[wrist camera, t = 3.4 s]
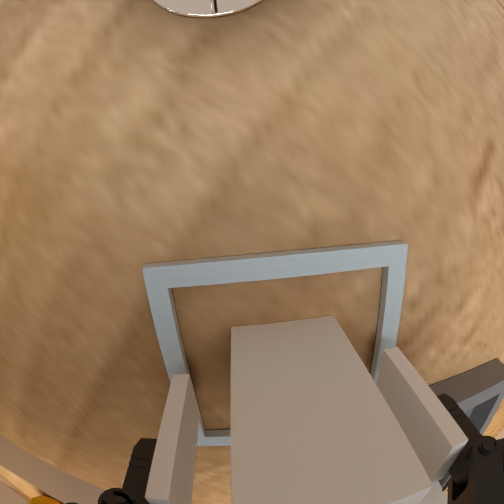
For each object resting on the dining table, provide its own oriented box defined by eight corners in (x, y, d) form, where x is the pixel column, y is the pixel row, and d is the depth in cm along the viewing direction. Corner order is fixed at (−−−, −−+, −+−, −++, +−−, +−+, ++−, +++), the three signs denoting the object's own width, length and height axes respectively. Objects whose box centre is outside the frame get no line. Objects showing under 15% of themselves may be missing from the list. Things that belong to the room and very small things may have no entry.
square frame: (192, 439, 16) (192, 446, 16) (145, 263, 13) (141, 268, 12) (374, 416, 17) (377, 421, 16) (401, 240, 13) (407, 243, 13)
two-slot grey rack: (343, 516, 22) (347, 532, 20) (385, 399, 16) (399, 424, 14) (426, 487, 22) (433, 501, 20) (496, 358, 17) (514, 374, 14)
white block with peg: (241, 400, 15) (254, 614, 4) (231, 326, 14) (235, 612, 2) (328, 389, 16) (400, 583, 4) (333, 315, 14) (465, 549, 2)
